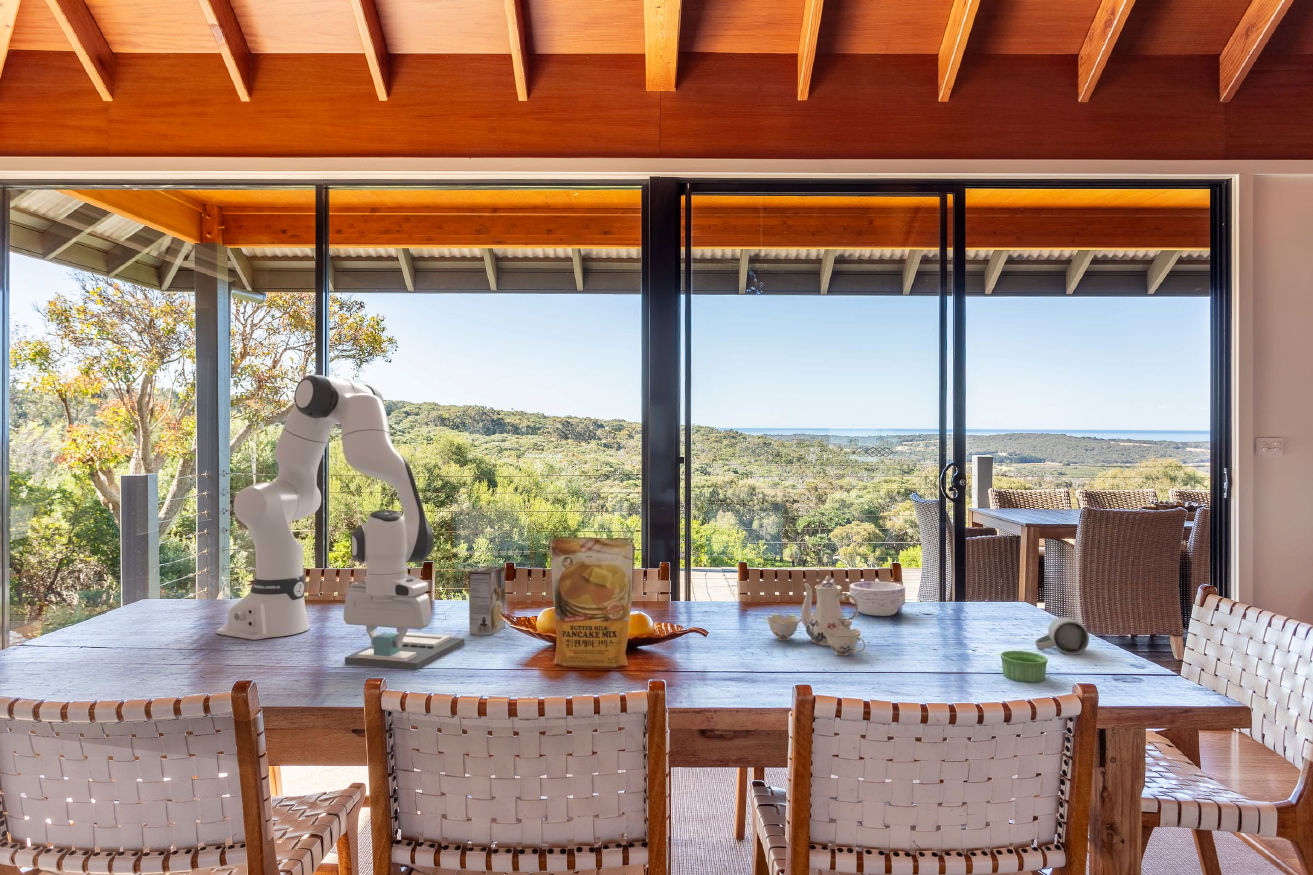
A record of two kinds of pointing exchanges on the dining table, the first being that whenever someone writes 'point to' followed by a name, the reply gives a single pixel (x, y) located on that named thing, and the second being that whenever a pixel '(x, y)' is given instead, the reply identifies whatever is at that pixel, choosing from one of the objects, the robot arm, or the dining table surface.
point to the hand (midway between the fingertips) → (387, 646)
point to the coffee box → (486, 600)
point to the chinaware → (821, 620)
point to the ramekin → (1024, 666)
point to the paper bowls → (878, 597)
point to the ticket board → (422, 644)
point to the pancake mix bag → (591, 600)
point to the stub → (386, 649)
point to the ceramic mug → (1065, 637)
